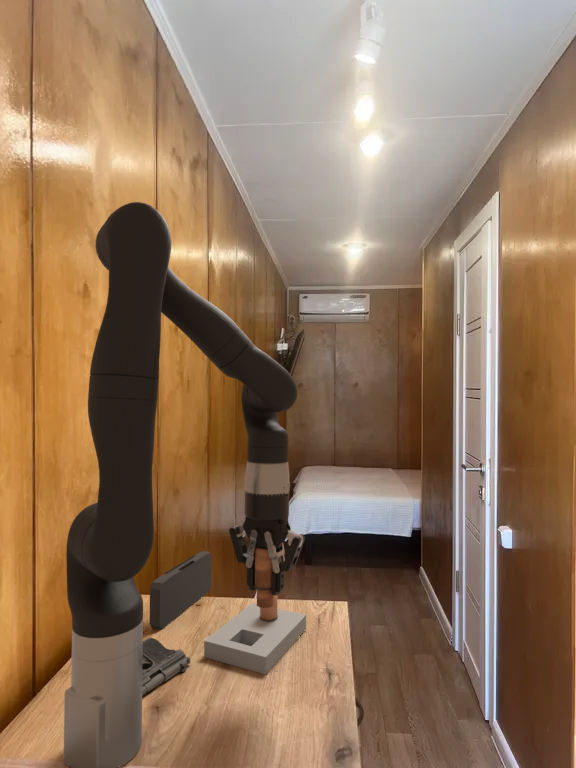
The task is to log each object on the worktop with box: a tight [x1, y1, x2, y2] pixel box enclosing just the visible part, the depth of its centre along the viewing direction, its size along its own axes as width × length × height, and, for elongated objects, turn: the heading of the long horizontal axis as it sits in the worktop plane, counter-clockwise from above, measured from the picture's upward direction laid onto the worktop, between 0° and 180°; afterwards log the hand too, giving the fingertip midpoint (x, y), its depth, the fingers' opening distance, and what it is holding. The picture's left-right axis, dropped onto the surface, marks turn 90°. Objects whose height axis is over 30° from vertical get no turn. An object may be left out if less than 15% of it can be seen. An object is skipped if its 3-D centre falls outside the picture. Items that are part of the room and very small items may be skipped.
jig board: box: [203, 594, 307, 676], centre depth 95 cm, size 18×13×10 cm
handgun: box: [142, 637, 191, 697], centre depth 83 cm, size 2×17×12 cm
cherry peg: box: [254, 548, 277, 608], centre depth 81 cm, size 4×4×10 cm
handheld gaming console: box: [149, 551, 212, 630], centre depth 110 cm, size 23×3×10 cm, turn 161°
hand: (265, 590), depth 80 cm, fingers closed on cherry peg, 3 cm apart
